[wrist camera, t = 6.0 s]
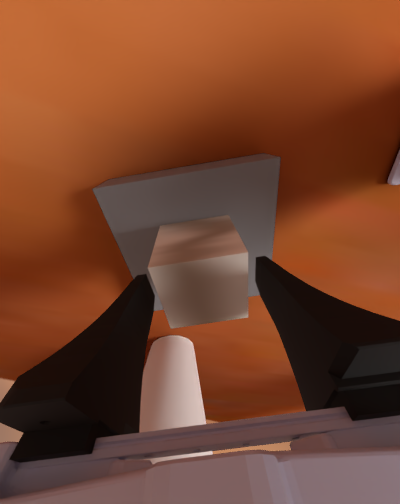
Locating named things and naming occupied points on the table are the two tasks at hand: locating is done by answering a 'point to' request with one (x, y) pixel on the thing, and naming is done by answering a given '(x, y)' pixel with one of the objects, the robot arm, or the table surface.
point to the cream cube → (200, 271)
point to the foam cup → (171, 390)
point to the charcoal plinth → (193, 206)
